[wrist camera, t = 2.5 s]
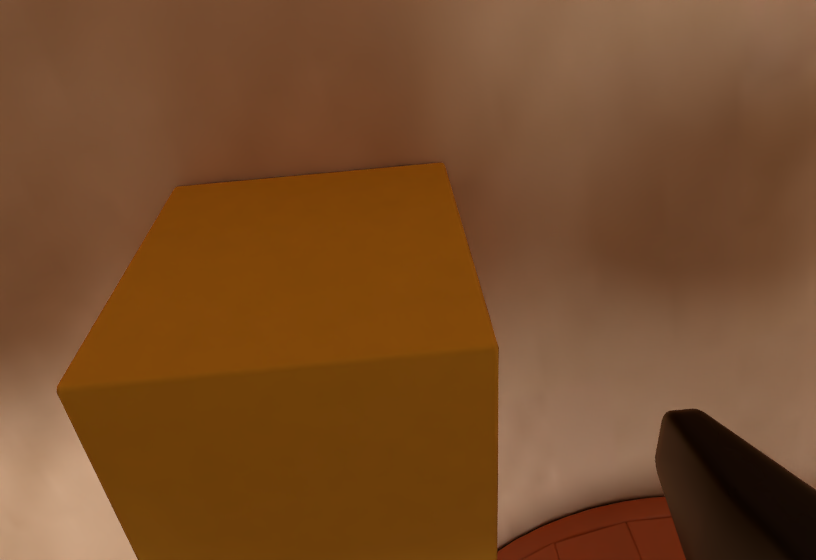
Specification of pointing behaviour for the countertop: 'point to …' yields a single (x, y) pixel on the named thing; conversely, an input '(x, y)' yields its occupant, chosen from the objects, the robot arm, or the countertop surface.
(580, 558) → the crock
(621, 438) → the countertop surface
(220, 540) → the block
